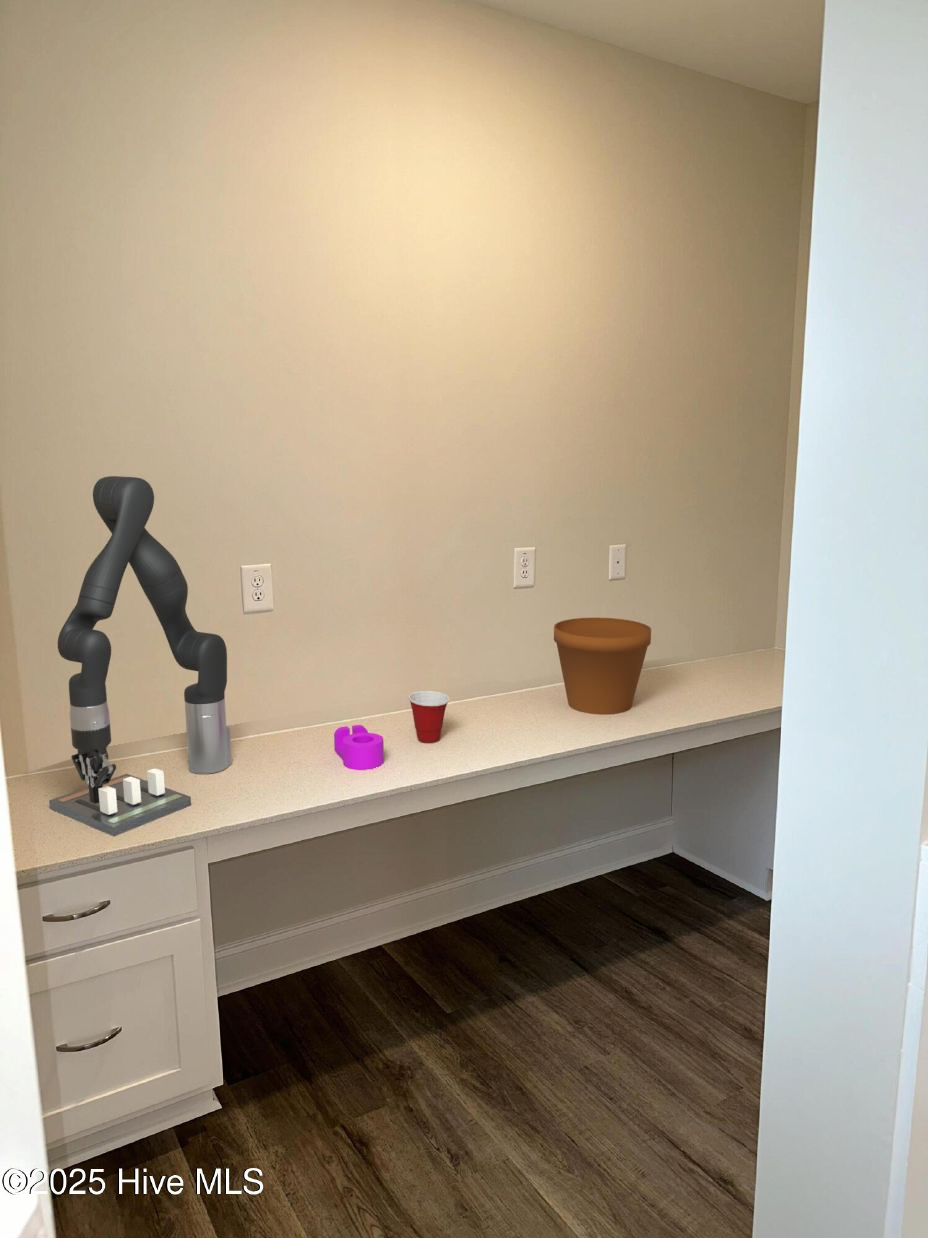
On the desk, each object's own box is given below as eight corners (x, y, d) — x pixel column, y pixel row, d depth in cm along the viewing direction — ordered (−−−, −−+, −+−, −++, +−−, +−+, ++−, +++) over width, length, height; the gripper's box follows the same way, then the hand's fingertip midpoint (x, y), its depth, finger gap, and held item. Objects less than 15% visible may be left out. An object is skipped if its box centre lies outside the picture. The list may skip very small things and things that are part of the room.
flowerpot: (589, 725, 253) (592, 642, 248) (534, 699, 277) (535, 623, 272) (667, 710, 266) (671, 631, 262) (608, 687, 290) (610, 614, 286)
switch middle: (132, 798, 197) (130, 776, 196) (141, 801, 195) (139, 779, 194) (124, 801, 195) (122, 779, 194) (133, 804, 194) (131, 782, 193)
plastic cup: (432, 750, 234) (432, 704, 231) (400, 741, 240) (399, 697, 238) (458, 738, 242) (458, 695, 240) (426, 730, 249) (426, 687, 246)
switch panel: (127, 781, 213) (126, 773, 212) (191, 805, 199) (190, 796, 199) (50, 809, 197) (49, 799, 197) (113, 836, 184) (113, 826, 184)
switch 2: (156, 789, 202) (154, 768, 201) (164, 792, 200) (163, 771, 199) (148, 792, 200) (147, 771, 199) (157, 795, 198) (155, 774, 197)
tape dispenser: (389, 767, 223) (388, 743, 221) (350, 773, 219) (349, 748, 217) (368, 746, 237) (368, 723, 236) (331, 752, 233) (330, 728, 232)
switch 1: (108, 808, 192) (107, 785, 191) (117, 811, 190) (115, 789, 189) (100, 811, 190) (98, 788, 189) (108, 814, 189) (106, 792, 188)
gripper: (125, 725, 188) (131, 803, 192) (88, 712, 196) (94, 788, 199) (92, 734, 182) (99, 816, 186) (55, 721, 190) (62, 799, 193)
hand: (96, 801), depth 193 cm, fingers closed
